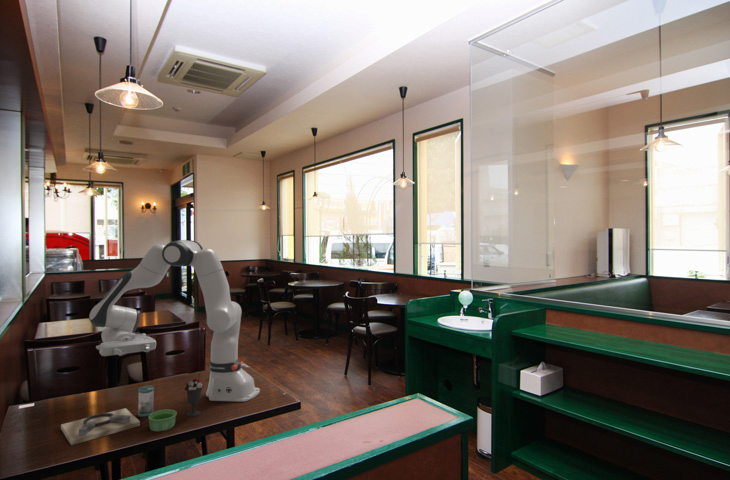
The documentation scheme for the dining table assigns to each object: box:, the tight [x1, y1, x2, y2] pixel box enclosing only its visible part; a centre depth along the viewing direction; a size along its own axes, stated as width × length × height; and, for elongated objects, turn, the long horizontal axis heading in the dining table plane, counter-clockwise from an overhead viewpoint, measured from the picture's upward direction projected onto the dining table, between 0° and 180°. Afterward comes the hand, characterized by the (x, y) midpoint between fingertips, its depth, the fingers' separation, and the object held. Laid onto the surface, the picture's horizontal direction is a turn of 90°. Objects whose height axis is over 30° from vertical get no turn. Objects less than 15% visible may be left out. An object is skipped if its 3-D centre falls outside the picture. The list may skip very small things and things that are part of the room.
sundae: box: [183, 375, 205, 418], centre depth 154 cm, size 7×7×15 cm
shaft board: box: [60, 408, 141, 446], centre depth 142 cm, size 20×16×4 cm
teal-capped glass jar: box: [137, 384, 155, 418], centre depth 153 cm, size 5×5×10 cm
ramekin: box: [147, 408, 177, 432], centre depth 143 cm, size 9×9×4 cm
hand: (135, 351), depth 161 cm, fingers open, 8 cm apart
